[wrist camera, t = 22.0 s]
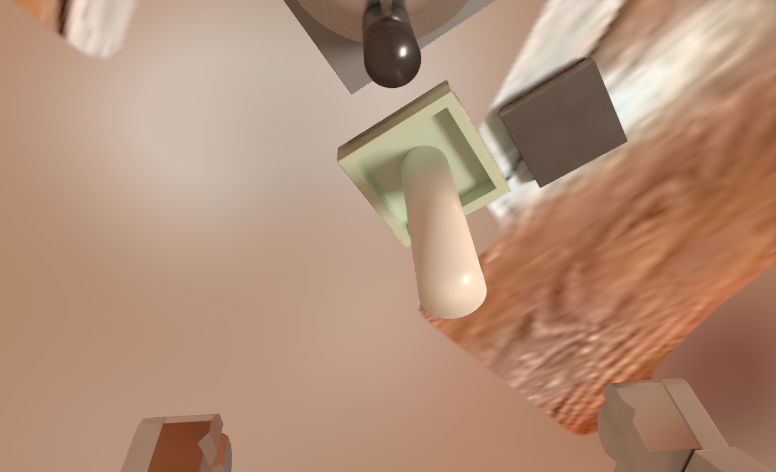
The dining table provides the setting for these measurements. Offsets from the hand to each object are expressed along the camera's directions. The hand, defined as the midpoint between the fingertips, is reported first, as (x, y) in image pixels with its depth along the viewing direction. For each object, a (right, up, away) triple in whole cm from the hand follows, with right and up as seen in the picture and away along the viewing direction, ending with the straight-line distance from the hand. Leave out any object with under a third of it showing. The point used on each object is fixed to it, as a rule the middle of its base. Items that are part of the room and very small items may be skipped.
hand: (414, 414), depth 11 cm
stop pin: (+2, +9, +29) cm, 30 cm away
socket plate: (+12, +12, +28) cm, 33 cm away
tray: (+2, +9, +29) cm, 31 cm away
